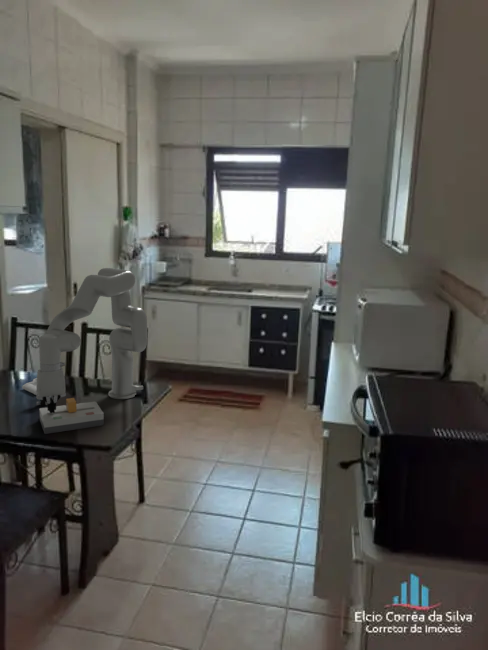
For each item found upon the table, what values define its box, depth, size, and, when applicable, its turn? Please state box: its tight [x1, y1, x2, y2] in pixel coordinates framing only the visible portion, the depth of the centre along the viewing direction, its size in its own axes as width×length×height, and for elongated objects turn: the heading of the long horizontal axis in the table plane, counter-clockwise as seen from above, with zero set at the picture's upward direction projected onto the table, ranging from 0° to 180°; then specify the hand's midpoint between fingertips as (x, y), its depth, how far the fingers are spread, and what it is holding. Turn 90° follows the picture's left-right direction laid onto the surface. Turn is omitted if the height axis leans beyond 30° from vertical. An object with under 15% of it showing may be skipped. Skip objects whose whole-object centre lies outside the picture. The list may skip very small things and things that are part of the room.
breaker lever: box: [65, 397, 77, 413], centre depth 199 cm, size 3×5×6 cm, turn 29°
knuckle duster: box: [21, 377, 37, 396], centre depth 235 cm, size 3×18×15 cm
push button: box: [36, 396, 53, 406], centre depth 216 cm, size 7×5×10 cm
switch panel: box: [39, 401, 105, 435], centre depth 201 cm, size 22×16×5 cm
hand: (51, 411), depth 196 cm, fingers closed
